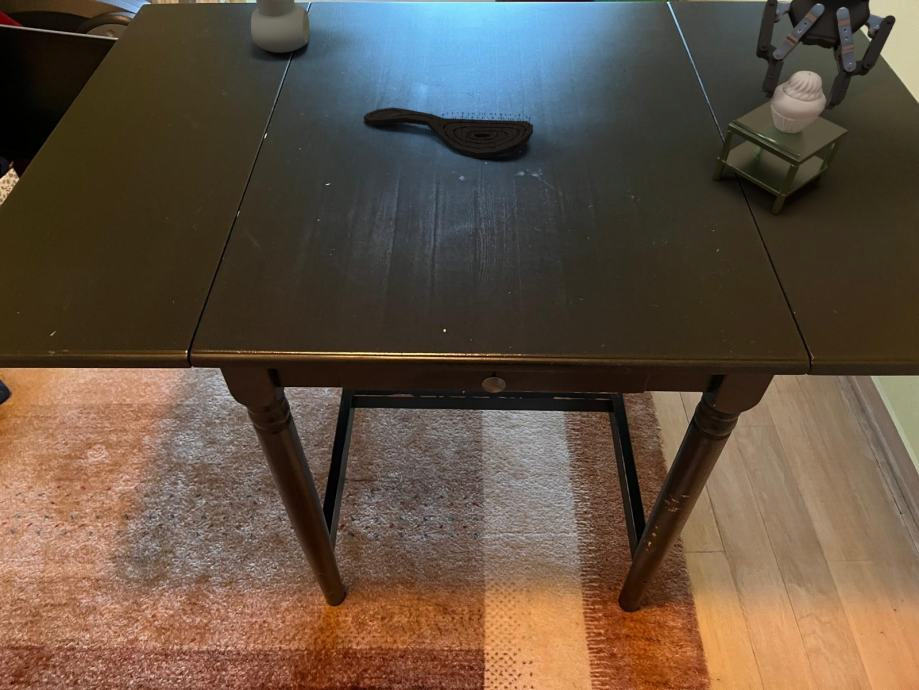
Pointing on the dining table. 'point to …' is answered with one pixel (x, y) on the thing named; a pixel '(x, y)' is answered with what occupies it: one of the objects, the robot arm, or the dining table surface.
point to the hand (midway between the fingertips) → (799, 101)
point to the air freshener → (279, 25)
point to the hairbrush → (462, 131)
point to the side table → (779, 153)
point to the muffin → (797, 102)
